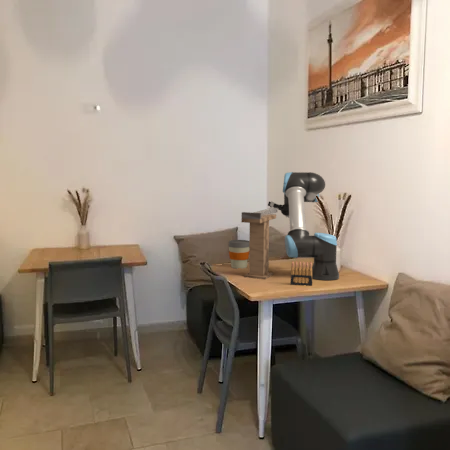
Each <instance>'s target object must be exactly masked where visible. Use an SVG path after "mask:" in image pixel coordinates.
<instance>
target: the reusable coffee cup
mask: <svg viewBox="0 0 450 450" xmlns="http://www.w3.org/2000/svg"><path fill="white" fill-rule="evenodd" d="M228 256H229V259H230V265H231V266H230V267H231V268H232V269H238V268H241V269H246V268H247V267H248V262H249V261H248V260H249V240H246V239H232V240H231V239H230V240H229V241H228Z"/></svg>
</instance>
